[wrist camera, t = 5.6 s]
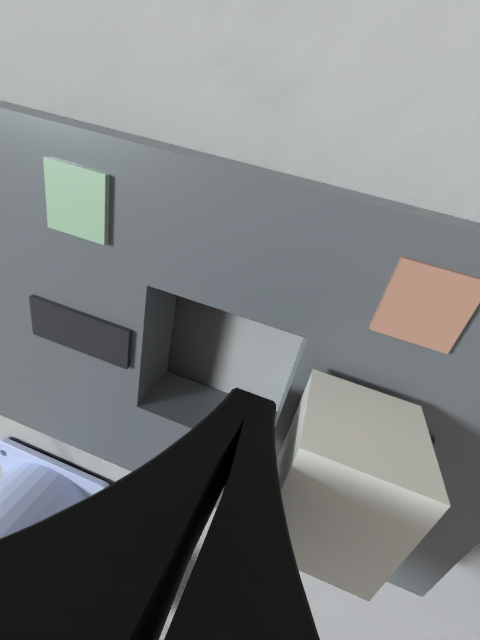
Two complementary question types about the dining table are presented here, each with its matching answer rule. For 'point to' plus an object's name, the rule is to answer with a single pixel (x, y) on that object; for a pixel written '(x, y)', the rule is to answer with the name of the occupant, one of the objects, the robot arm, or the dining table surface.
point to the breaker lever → (357, 483)
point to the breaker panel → (226, 299)
